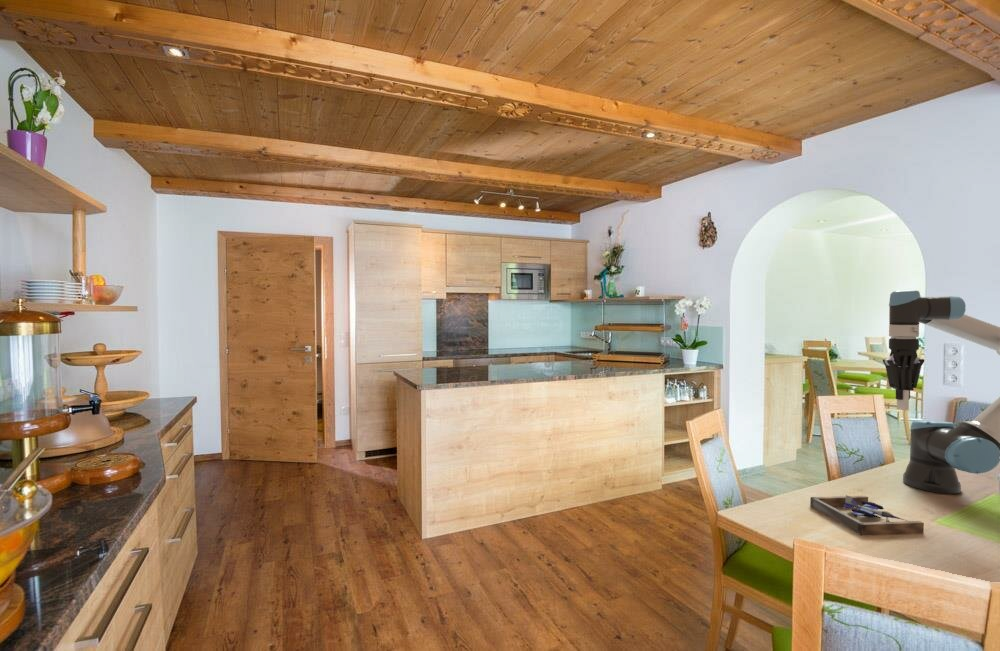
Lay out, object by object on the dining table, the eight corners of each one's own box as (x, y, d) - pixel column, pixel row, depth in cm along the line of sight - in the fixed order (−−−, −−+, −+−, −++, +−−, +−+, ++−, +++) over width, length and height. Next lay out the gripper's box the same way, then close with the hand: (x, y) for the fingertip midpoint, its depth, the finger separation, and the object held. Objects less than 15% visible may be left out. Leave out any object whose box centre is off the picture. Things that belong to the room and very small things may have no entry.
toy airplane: (912, 531, 133) (913, 518, 133) (856, 526, 136) (856, 514, 136) (886, 512, 146) (886, 500, 146) (834, 508, 149) (835, 496, 149)
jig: (864, 504, 151) (865, 495, 151) (923, 533, 132) (923, 522, 132) (810, 506, 150) (810, 497, 150) (861, 535, 131) (861, 524, 130)
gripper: (896, 338, 152) (895, 412, 152) (933, 338, 153) (931, 411, 154) (875, 337, 159) (874, 407, 160) (910, 336, 160) (909, 406, 161)
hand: (902, 409), depth 157 cm, fingers closed
